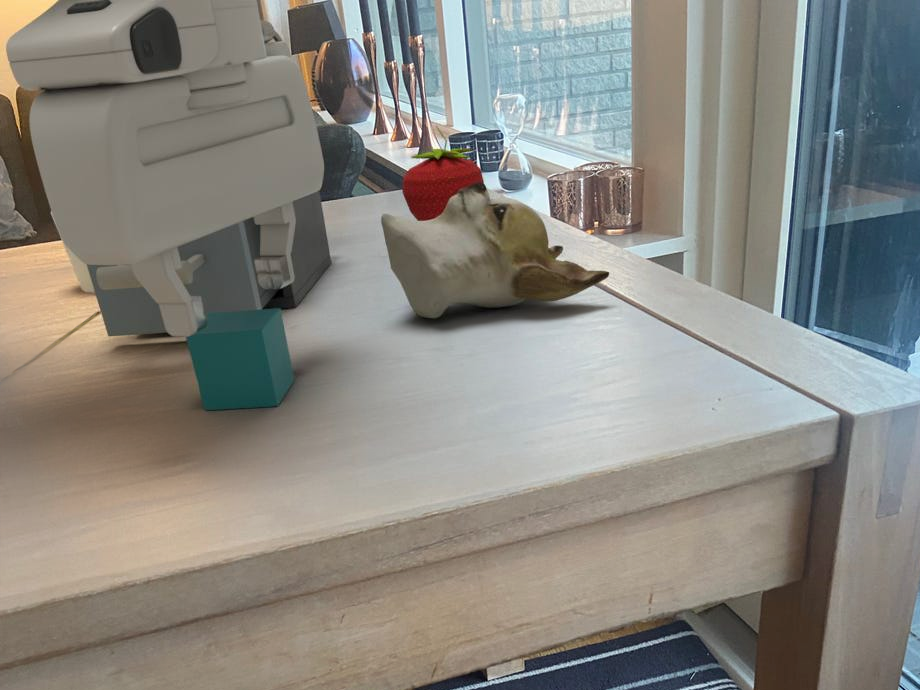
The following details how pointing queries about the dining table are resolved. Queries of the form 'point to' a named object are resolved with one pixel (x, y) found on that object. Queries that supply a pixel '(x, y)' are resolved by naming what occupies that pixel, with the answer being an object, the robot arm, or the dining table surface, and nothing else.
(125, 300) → the grey drawer
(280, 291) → the drawer cabinet
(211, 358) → the teal matte cube
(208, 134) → the robot arm
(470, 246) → the ceramic sculpture
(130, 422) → the dining table surface
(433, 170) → the strawberry
